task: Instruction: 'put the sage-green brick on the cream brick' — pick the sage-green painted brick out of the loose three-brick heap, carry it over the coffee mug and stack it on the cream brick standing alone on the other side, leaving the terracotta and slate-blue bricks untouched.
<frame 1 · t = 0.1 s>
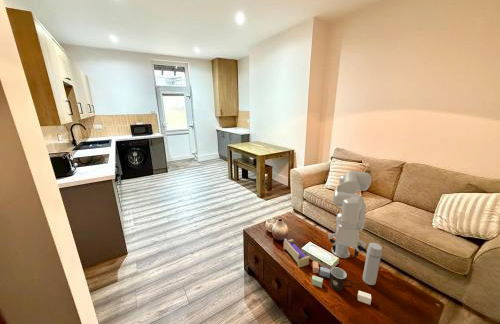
hand: (344, 253, 103), 31 cm above the table, fingers open, 9 cm apart
toy sofa: (295, 257, 145), on the table
cream brick: (363, 300, 112), on the table
water bottle: (369, 280, 125), on the table
slate brick: (324, 275, 129), on the table
coffee mug: (338, 289, 119), on the table
terracotta brick: (315, 269, 133), on the table
sage brick: (316, 284, 122), on the table
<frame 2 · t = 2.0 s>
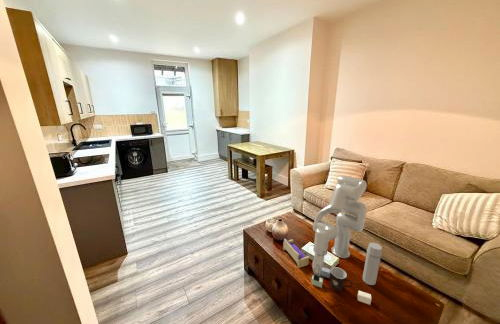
hand: (317, 274, 120), 7 cm above the table, fingers open, 9 cm apart
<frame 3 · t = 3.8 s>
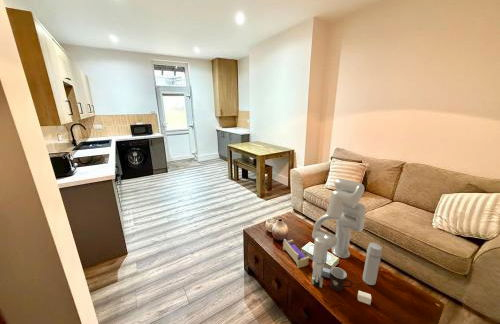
hand: (316, 283, 122), 0 cm above the table, fingers closed on sage brick, 2 cm apart
sage brick: (316, 283, 122), on the table, touching gripper
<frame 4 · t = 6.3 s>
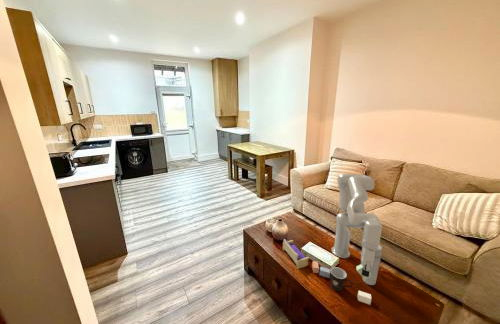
hand: (364, 273, 108), 17 cm above the table, fingers closed on sage brick, 3 cm apart
sage brick: (360, 272, 109), point 17 cm above the table, tilted 41°, touching gripper
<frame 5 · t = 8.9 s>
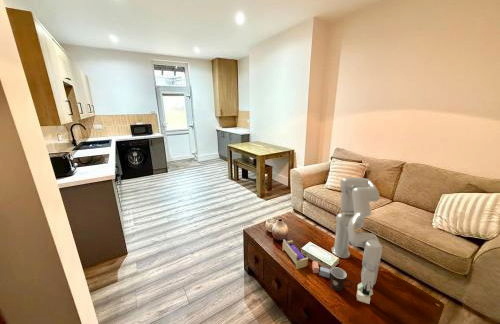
hand: (365, 291, 110), 6 cm above the table, fingers closed on sage brick, 2 cm apart
sage brick: (362, 291, 111), point 5 cm above the table, tilted 32°, touching gripper
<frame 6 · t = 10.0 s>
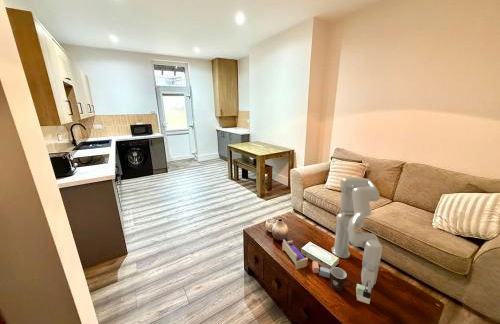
hand: (365, 290, 110), 7 cm above the table, fingers open, 9 cm apart
cream brick: (362, 299, 112), on the table, touching sage brick
sage brick: (362, 293, 111), point 4 cm above the table, touching cream brick
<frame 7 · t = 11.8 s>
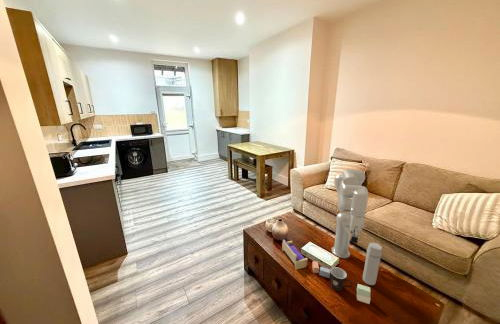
hand: (353, 237, 119), 29 cm above the table, fingers open, 9 cm apart
cream brick: (362, 299, 112), on the table
sage brick: (362, 293, 111), point 4 cm above the table
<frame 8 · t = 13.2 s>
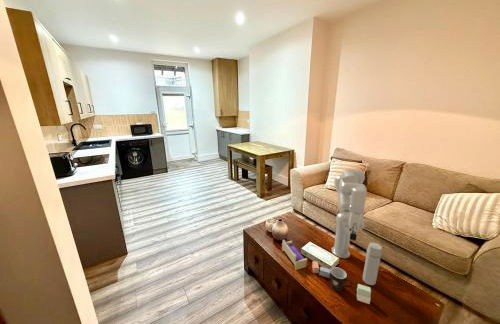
hand: (352, 235, 119), 30 cm above the table, fingers open, 9 cm apart
cream brick: (362, 299, 112), on the table, touching sage brick
sage brick: (363, 293, 111), point 4 cm above the table, touching cream brick
at the end: sage brick 0.4 cm off-centre on the cream brick, point 4.0 cm above the cream brick's base; terracotta brick moved 0.2 cm from its start; slate brick moved 0.2 cm from its start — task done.
